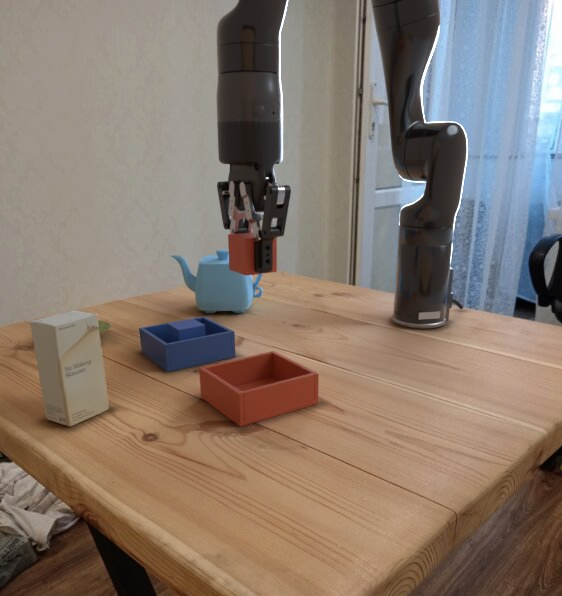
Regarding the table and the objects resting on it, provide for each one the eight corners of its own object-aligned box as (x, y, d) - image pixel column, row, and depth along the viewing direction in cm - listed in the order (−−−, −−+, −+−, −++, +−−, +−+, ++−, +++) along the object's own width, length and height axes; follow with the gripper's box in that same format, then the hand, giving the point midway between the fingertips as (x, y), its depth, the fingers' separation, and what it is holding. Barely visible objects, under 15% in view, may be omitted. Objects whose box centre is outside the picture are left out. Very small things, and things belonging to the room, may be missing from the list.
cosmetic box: (69, 428, 66) (53, 326, 61) (44, 419, 68) (27, 321, 64) (111, 408, 71) (99, 313, 66) (87, 401, 73) (73, 308, 69)
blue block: (194, 344, 92) (192, 318, 90) (206, 352, 88) (205, 324, 86) (168, 350, 89) (166, 322, 88) (180, 358, 86) (178, 329, 84)
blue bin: (205, 339, 96) (204, 316, 94) (235, 356, 88) (234, 331, 86) (141, 352, 90) (138, 327, 89) (167, 372, 82) (164, 345, 81)
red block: (259, 266, 75) (258, 231, 73) (277, 271, 71) (276, 235, 70) (229, 269, 73) (227, 234, 71) (246, 275, 69) (245, 238, 68)
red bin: (273, 378, 79) (273, 350, 78) (318, 403, 72) (318, 373, 70) (200, 397, 74) (198, 367, 72) (240, 426, 66) (239, 394, 64)
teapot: (179, 300, 121) (175, 245, 116) (265, 300, 120) (263, 244, 116) (167, 316, 109) (162, 256, 105) (262, 316, 109) (261, 255, 105)
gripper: (313, 117, 62) (310, 275, 68) (247, 123, 73) (250, 258, 79) (253, 115, 58) (255, 282, 64) (193, 121, 69) (201, 263, 76)
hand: (252, 268), depth 72 cm, fingers closed on red block, 4 cm apart
